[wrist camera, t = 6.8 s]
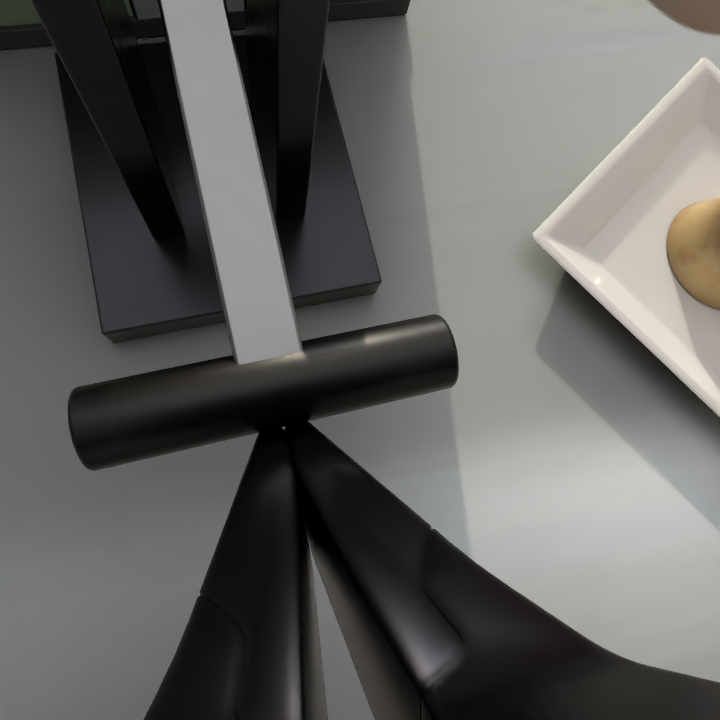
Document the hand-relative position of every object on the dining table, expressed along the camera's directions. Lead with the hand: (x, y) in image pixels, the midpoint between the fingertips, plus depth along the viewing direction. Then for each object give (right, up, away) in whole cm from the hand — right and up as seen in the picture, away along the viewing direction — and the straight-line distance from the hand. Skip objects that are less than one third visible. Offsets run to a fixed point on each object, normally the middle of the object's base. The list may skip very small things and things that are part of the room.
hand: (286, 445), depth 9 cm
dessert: (+16, +6, +13) cm, 21 cm away
